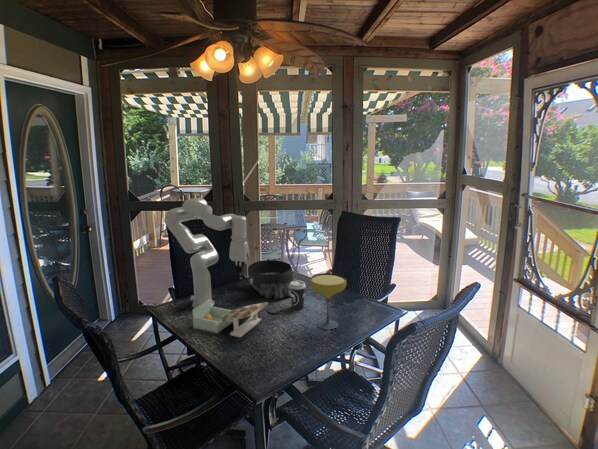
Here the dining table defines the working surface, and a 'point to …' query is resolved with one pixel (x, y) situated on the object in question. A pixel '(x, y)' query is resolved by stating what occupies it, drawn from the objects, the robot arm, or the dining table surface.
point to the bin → (210, 325)
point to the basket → (271, 278)
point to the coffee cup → (297, 294)
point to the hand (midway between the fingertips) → (240, 272)
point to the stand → (244, 326)
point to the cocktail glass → (328, 292)
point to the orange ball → (208, 317)
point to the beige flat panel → (244, 312)
